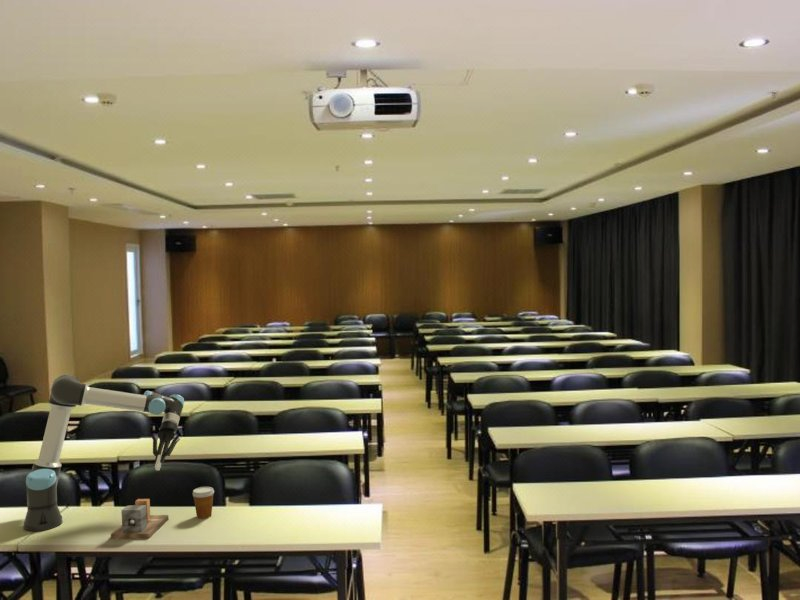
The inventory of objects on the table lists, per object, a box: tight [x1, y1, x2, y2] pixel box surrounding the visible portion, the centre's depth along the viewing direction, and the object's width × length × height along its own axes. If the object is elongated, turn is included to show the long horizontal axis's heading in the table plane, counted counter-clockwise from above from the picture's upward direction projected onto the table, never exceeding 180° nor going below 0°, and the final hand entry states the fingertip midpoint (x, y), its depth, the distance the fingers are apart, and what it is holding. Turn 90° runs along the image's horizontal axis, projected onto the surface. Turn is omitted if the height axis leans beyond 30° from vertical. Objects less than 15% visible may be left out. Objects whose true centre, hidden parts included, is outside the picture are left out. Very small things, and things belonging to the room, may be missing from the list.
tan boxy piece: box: [129, 498, 151, 525], centre depth 297 cm, size 5×13×9 cm, turn 178°
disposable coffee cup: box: [192, 486, 215, 520], centre depth 313 cm, size 10×10×12 cm
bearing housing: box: [110, 504, 170, 540], centre depth 299 cm, size 16×22×11 cm
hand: (157, 468), depth 318 cm, fingers closed
